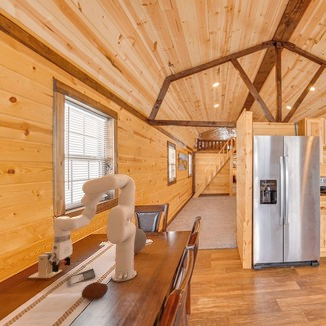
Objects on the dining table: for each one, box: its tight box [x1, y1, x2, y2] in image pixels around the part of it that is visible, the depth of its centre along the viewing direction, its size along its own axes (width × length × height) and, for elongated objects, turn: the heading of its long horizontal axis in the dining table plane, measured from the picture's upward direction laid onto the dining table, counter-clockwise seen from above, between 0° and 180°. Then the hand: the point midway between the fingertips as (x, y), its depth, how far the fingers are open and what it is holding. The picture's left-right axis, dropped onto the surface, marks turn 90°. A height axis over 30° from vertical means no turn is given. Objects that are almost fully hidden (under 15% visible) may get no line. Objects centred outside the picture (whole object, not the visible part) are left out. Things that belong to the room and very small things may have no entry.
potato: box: [81, 281, 109, 301], centre depth 112 cm, size 8×11×8 cm
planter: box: [134, 227, 148, 254], centre depth 169 cm, size 18×7×19 cm, turn 114°
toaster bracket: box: [27, 251, 63, 279], centre depth 134 cm, size 12×9×13 cm
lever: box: [43, 253, 66, 267], centre depth 134 cm, size 12×5×2 cm, turn 90°
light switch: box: [69, 267, 96, 286], centre depth 130 cm, size 11×2×12 cm
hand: (61, 268), depth 134 cm, fingers open, 8 cm apart
